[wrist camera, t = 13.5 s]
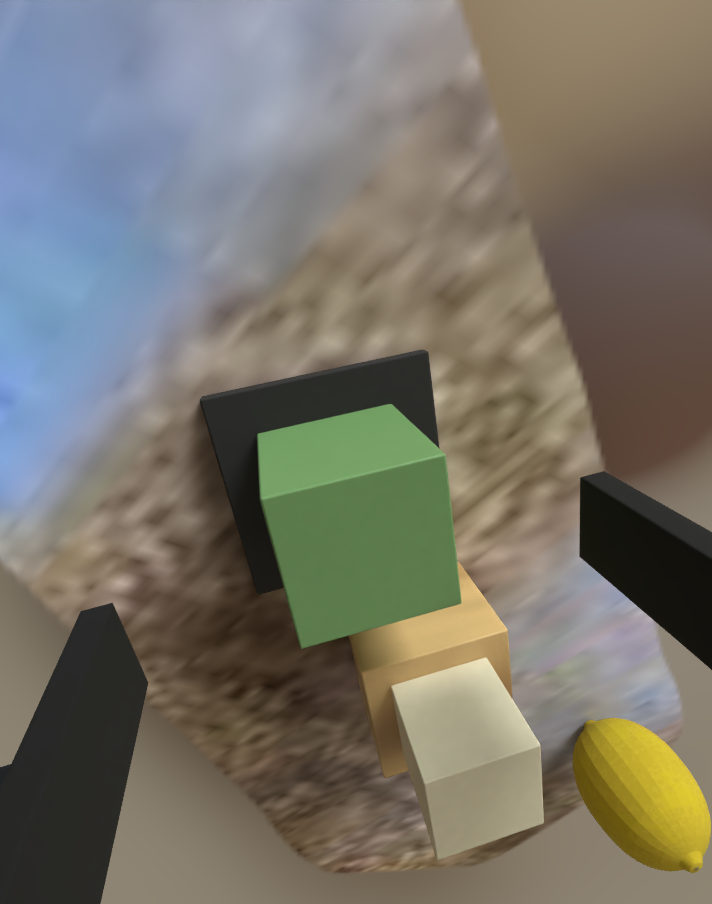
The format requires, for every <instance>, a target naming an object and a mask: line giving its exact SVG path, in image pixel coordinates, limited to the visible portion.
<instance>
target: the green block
mask: <svg viewBox="0 0 712 904" xmlns="http://www.w3.org/2000/svg"><path fill="white" fill-rule="evenodd" d="M257 450H258V471H259V491H260V502H261V506H262V510H263V513H264V517H265V521H266V524H267V528H268V532H269V535H270V539H271V543H272V546H273V550H274V554H275V557H276V561H277V565H278V568H279V572H280V576H281V579H282V583H283V587H284V590H285V594H286V598H287V601H288V605H289V609H290V612H291V616H292V620H293V623H294V627H295V631H296V634H297V638H298V642H299V645H300V647H301V649H304V648H307V647H311V646H314V645H318V644H321V643H325V642H328V641H332V640H335V639H339V638H342V637H346V636H349V635H353V634H356V633H360V632H363V631H367V630H370V629H374V628H378V627H381V626H385V625H388V624H392V623H395V622H399V621H402V620H406V619H409V618H413V617H416V616H420V615H423V614H427V613H430V612H434V611H437V610H441V609H444V608H448V607H451V606H455V605H458V604H461V602H462V601H461V591H460V582H459V573H458V564H457V555H456V546H455V537H454V528H453V519H452V510H451V500H450V491H449V482H448V473H447V464H446V455H445V453H443V452H442V451H441V450H440V449H439V448H438V447H437V446H436V445H435V444H434V443H433V442H432V441H431V440H429V439H428V438H427V437H426V436H425V435H424V434H423V433H422V432H421V431H420V430H419V429H418V428H417V427H416V426H414V425H413V424H412V423H411V422H410V421H409V420H408V419H407V418H406V417H405V416H404V415H403V414H402V413H401V412H399V411H398V410H397V409H396V408H395V407H394V406H393V405H392V404H387V405H383V406H379V407H374V408H370V409H365V410H361V411H356V412H352V413H347V414H343V415H339V416H334V417H330V418H325V419H321V420H316V421H312V422H308V423H303V424H299V425H294V426H290V427H285V428H281V429H277V430H272V431H268V432H263V433H259V434H257Z"/></svg>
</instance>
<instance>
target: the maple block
mask: <svg viewBox="0 0 712 904" xmlns="http://www.w3.org/2000/svg"><path fill="white" fill-rule="evenodd" d="M457 564H458V573H459V582H460V591H461V601H462V602H461V604H458V605H455V606H451V607H448V608H444V609H441V610H437V611H434V612H430V613H427V614H423V615H420V616H416V617H413V618H409V619H406V620H402V621H399V622H395V623H392V624H388V625H385V626H381V627H378V628H374V629H370V630H367V631H363V632H360V633H356V634H353V635H349V636H348V637H349V641H350V645H351V650H352V654H353V659H354V663H355V668H356V672H357V677H358V681H359V686H360V690H361V694H362V697H363V701H364V705H365V709H366V712H367V716H368V720H369V724H370V727H371V731H372V735H373V739H374V742H375V746H376V750H377V754H378V757H379V761H380V765H381V769H382V772H383V776H384V778H388V777H391V776H394V775H397V774H400V773H403V772H406V771H409V770H408V767H407V764H406V761H405V758H404V754H403V749H402V743H401V738H400V733H399V728H398V723H397V717H396V712H395V707H394V702H393V697H392V691H391V686H392V685H395V684H398V683H402V682H405V681H408V680H412V679H415V678H418V677H422V676H425V675H428V674H432V673H435V672H438V671H442V670H445V669H448V668H452V667H455V666H458V665H462V664H465V663H468V662H472V661H475V660H478V659H482V658H485V657H486V658H487V659H488V661H489V662H490V664H491V665H492V667H493V669H494V670H495V672H496V674H497V675H498V677H499V678H500V680H501V682H502V683H503V685H504V687H505V688H506V690H507V691H508V693H509V695H510V696H511V698H512V686H511V671H510V657H509V642H508V630H507V628H506V627H505V626H504V624H503V623H502V622H501V620H500V619H499V617H498V616H497V615H496V613H495V612H494V610H493V609H492V608H491V606H490V605H489V603H488V602H487V601H486V599H485V598H484V597H483V595H482V594H481V592H480V591H479V590H478V588H477V587H476V585H475V584H474V583H473V581H472V580H471V579H470V577H469V576H468V574H467V573H466V572H465V570H464V569H463V567H462V566H461V565H460V563H459V562H457Z"/></svg>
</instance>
